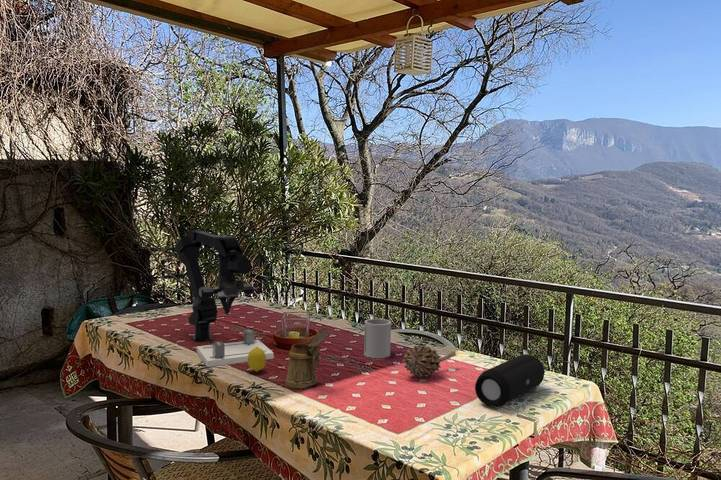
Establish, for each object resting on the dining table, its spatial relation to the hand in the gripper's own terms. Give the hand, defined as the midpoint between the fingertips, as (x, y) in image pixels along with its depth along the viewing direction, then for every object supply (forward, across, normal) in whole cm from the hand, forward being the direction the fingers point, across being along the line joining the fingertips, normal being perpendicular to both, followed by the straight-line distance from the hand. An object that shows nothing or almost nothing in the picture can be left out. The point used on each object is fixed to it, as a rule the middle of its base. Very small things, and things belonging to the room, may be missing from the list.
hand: (226, 314), depth 191 cm
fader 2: (+10, +7, -5) cm, 13 cm away
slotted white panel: (+12, 0, -11) cm, 16 cm away
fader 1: (+10, -7, -17) cm, 21 cm away
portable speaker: (+12, +61, -80) cm, 101 cm away
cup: (+12, +45, -31) cm, 56 cm away
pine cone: (+12, +51, -55) cm, 76 cm away
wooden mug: (+12, +12, -48) cm, 51 cm away
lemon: (+12, +2, -31) cm, 33 cm away
